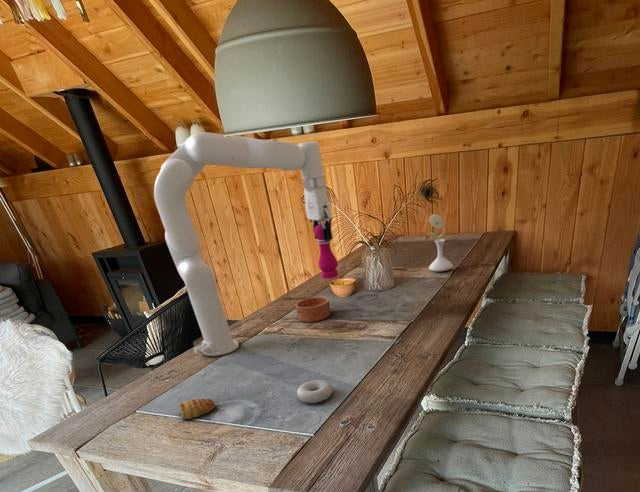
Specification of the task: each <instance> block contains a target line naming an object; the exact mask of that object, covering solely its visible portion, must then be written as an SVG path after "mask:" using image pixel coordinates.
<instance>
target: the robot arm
mask: <svg viewBox="0 0 640 492" xmlns="http://www.w3.org/2000/svg"><path fill="white" fill-rule="evenodd" d="M222 134H223V133H217V132H216V133H215V132H214V133H213V132H208V131H207V132H206V131H198V132H194V133H192V134H191V135H189V136H188V137H187V139H186V140H185V141H184V142H182V144H181V145H180V146H179V147H178V148H177V149H176V150H175V151H174V152H173V153H172V154H171V155H169V156H168V158H167V159H166V160H165V161H164V162H163V163H162V165H161V166H160V171H159V172H158V174H157V175H156V179H155V182H154V188H153V196H154V202H155V205H156V208H157V211H158V214H159V217H160V220H161V222H162V223H161V224H162V225H163V228H164V230H165V231H164V232H165V233H164V239H165V243H166V245H167V247H168V251H169V253H170V255H171V258H172V260H173V263H174V265H175V267H176V270H177V272H178V274H179V276H180V278H181V279H182V281H183V282H184V285H185V288H186V291H187V294H188V297H189V300H190V304H191V306H192V309H193V312H194V315H195V318H196V320H197V321H196V322H197V323H198V327H199V329H200V332H201V336H202V338H203V340H202V341H201V344H200V345H199V346H196V347H194V348H193V352H194V353H195V354H198V353H202V354H204V355H205V356H208V357H218V356H222V355H227V354H229V353H232V352H234V351H236V350H237V349H238V348H239V346H240V343H239V341H238V340H236V339H234V338H233V335H232V333H231V330H230V326H229V323H228V320H227V316H226V313H225V310H224V307H223V304H222V301H221V296H220V293H219V290H218V285H217V281H216V278H215V274H214V272H213V270H212V268H211V266H210V265H209V264H208V263H206V261H205V260H204V258H203V255H202V251H201V248H200V238H199V235H198V233H197V231H196V229H195V225H194V224H193V222H192V218H191V216H190V213H189V212H190V211H189V209H188V206H187V203H186V194H187V192H188V190H190V188H192V187H193V184H194V181H195V178H196V177H197V176H198V175H199V174H200V173H201V172H202V171H203V170H204V169H205V167H206V166H216V167H217V166H220V167H229V168H241V169H275V170H276V169H277V170H282V171H289V172H290V171H295V172H296V171H299V170H300V174H301V175H300V176H301V180H302V185H303V193H304V194H303V195H304V206H305V212H306V217H307V220H309V222H310V223H311V227H312V230H313V232H314V229H315V227H316V226H317V225H320V224H319V223H318V221H320V220H321V223H322V226H323V229H322V231H323V236H324V240H325V241H327V240H333V234H332V220H333V216H332V213H331V207H330V202H329V201H330V200H329V197H328V193H327V192H328V191H327V189H326V187H327V186H326V180H325V174H324V168H323V162H322V155H321V148H320V145H319V143H318V142H317V141H314V140H312V141H303V142H299V143H294V142H288V141H279V140H271V139H260V138H254V137H251V136H249V137H248V136H240V135H233V136H230V137H224V136H223V135H222ZM313 237H314V239H315V240H317V239H318V238H317V237H316V236H315V234H314V233H313Z"/></svg>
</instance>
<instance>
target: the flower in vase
mask: <svg viewBox="0 0 640 492" xmlns="http://www.w3.org/2000/svg"><path fill="white" fill-rule="evenodd" d="M428 223H429V224H430V225H431V226H432V227H434V229H433V230H434V231H430V233H429V235H428V236H430V237H432V238H435V237H436V239H435V240H434V243H435V244H436V248H437V257H436V258H435V260H433V262H431V263H430V265H429V266H428V269H429V270H430V271H431V272H437V273H439V272H446V271H449V270H451V269H452V268H453V265H454V264H453V263H452V262H451V261H450V260H448V259H447V258H446V257H445V256H444V253H443V251H444V250H443V248H444V243H445V241H446V239H443V238H441V239H440V237H442V236H443V235H444V233H441V234H439V235H438V236H437V233H436V229H439V230H441V229H443V228H445V220H444V217H442V216H441V215H439V214H431V215H430V216H429V217H428Z"/></svg>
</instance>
